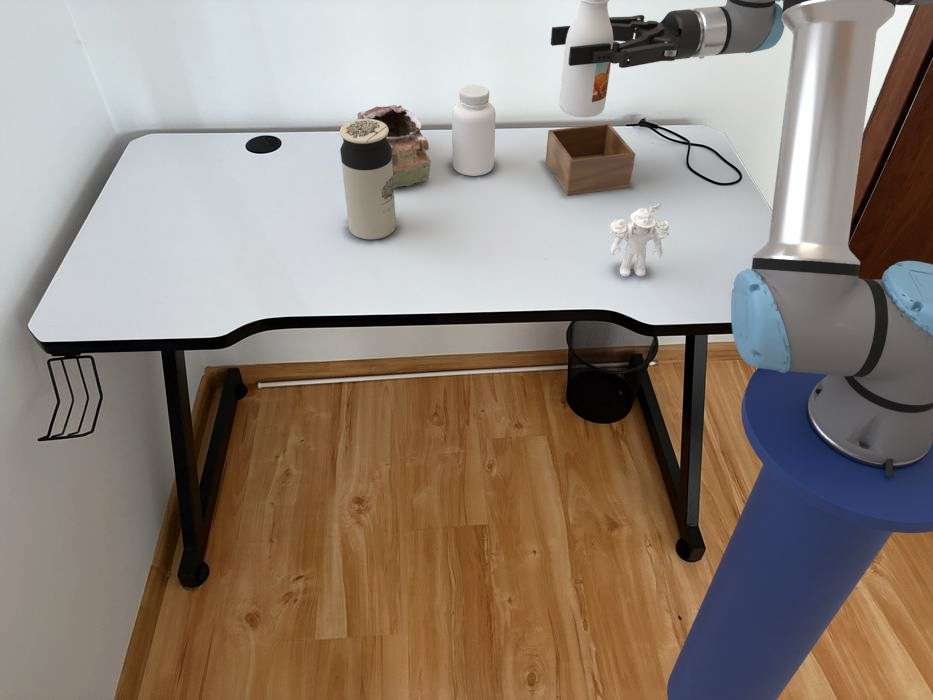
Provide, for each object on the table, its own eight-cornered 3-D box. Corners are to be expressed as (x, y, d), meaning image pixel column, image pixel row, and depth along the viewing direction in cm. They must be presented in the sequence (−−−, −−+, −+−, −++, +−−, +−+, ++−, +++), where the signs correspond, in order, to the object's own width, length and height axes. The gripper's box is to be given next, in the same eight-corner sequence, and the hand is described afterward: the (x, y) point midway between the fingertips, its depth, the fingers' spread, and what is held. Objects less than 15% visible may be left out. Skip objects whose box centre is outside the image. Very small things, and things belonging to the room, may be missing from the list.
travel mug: (339, 229, 128) (327, 131, 116) (371, 209, 133) (362, 112, 121) (374, 246, 125) (365, 147, 112) (405, 225, 129) (400, 127, 117)
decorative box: (361, 198, 136) (356, 148, 129) (343, 146, 150) (338, 99, 143) (432, 188, 138) (431, 139, 132) (408, 138, 153) (406, 91, 146)
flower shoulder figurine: (658, 264, 122) (672, 199, 114) (662, 279, 119) (677, 214, 111) (602, 263, 122) (612, 198, 114) (604, 278, 119) (615, 212, 111)
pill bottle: (473, 152, 149) (475, 77, 138) (502, 167, 144) (506, 91, 134) (443, 165, 145) (442, 89, 134) (472, 181, 140) (473, 104, 130)
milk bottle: (575, 122, 125) (589, -5, 111) (550, 104, 130) (561, -20, 116) (613, 113, 128) (632, -12, 114) (587, 95, 133) (602, -27, 119)
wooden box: (629, 187, 139) (635, 153, 135) (567, 195, 137) (571, 161, 132) (604, 155, 148) (609, 123, 143) (545, 162, 146) (548, 130, 141)
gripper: (716, 81, 120) (581, 96, 116) (659, 34, 135) (538, 45, 130) (727, 33, 115) (587, 47, 111) (667, -11, 130) (541, -1, 125)
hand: (561, 46), depth 121 cm, fingers closed on milk bottle, 8 cm apart
